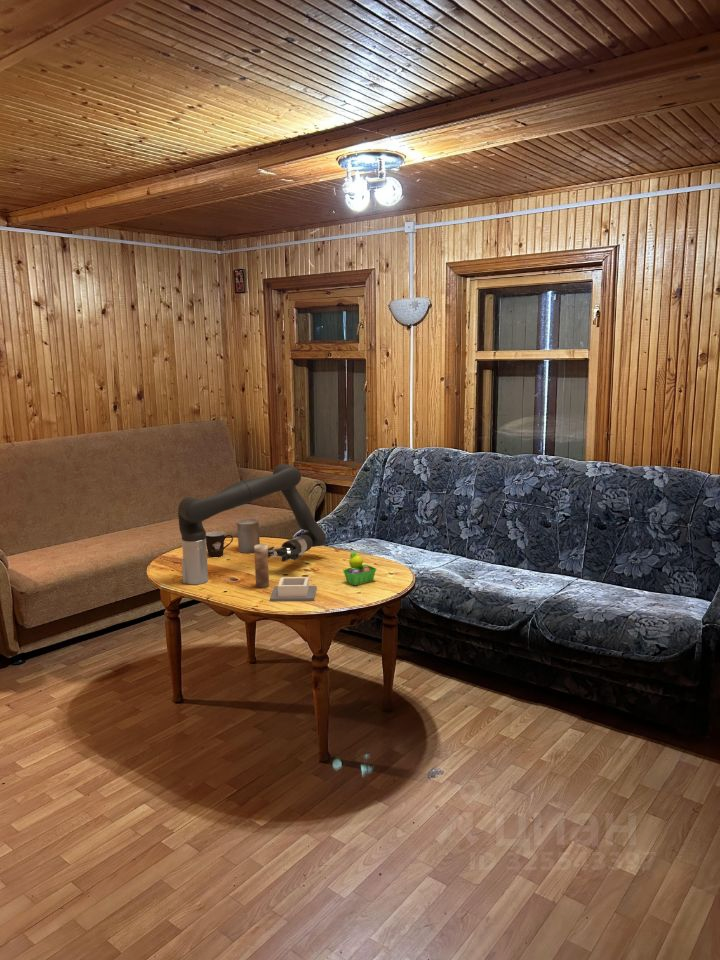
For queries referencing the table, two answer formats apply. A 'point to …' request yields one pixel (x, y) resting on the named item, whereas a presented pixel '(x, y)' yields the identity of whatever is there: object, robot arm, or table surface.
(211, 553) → the coffee mug
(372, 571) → the fruit basket
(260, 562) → the walnut post
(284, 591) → the post well
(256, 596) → the table surface
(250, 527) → the pillar candle
